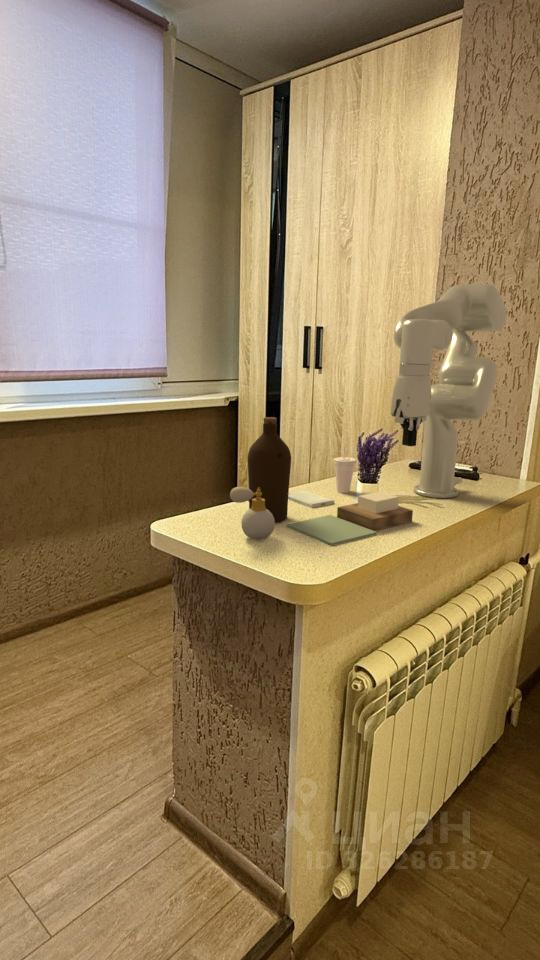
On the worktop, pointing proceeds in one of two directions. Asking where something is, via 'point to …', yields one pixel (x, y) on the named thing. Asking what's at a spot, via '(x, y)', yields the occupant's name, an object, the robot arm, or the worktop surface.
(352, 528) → the mat
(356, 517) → the wooden block
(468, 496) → the worktop surface
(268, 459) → the olive oil
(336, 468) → the smoothie
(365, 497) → the cream rectangular block
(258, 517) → the perfume bottle
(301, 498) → the hard drive
